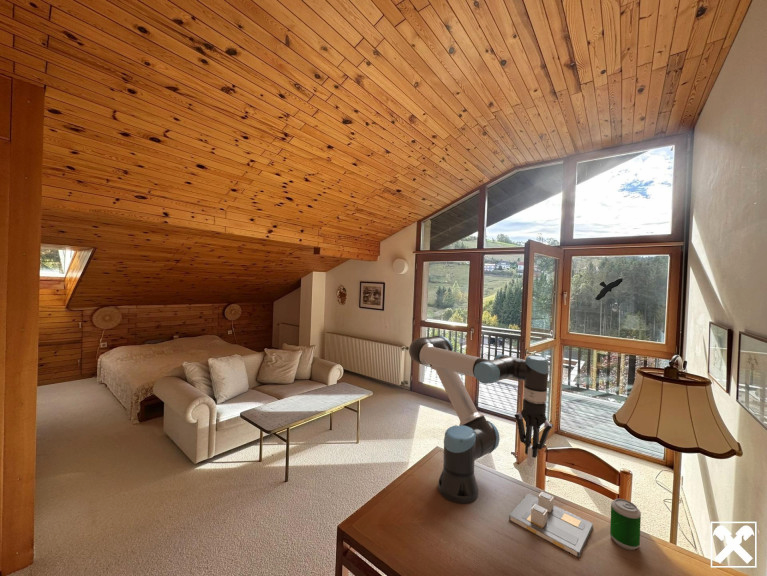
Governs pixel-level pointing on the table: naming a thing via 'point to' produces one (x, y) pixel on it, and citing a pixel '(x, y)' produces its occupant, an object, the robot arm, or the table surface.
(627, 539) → the soda can
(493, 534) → the table surface
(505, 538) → the table surface
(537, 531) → the switch board
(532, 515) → the slider near
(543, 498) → the slider far
